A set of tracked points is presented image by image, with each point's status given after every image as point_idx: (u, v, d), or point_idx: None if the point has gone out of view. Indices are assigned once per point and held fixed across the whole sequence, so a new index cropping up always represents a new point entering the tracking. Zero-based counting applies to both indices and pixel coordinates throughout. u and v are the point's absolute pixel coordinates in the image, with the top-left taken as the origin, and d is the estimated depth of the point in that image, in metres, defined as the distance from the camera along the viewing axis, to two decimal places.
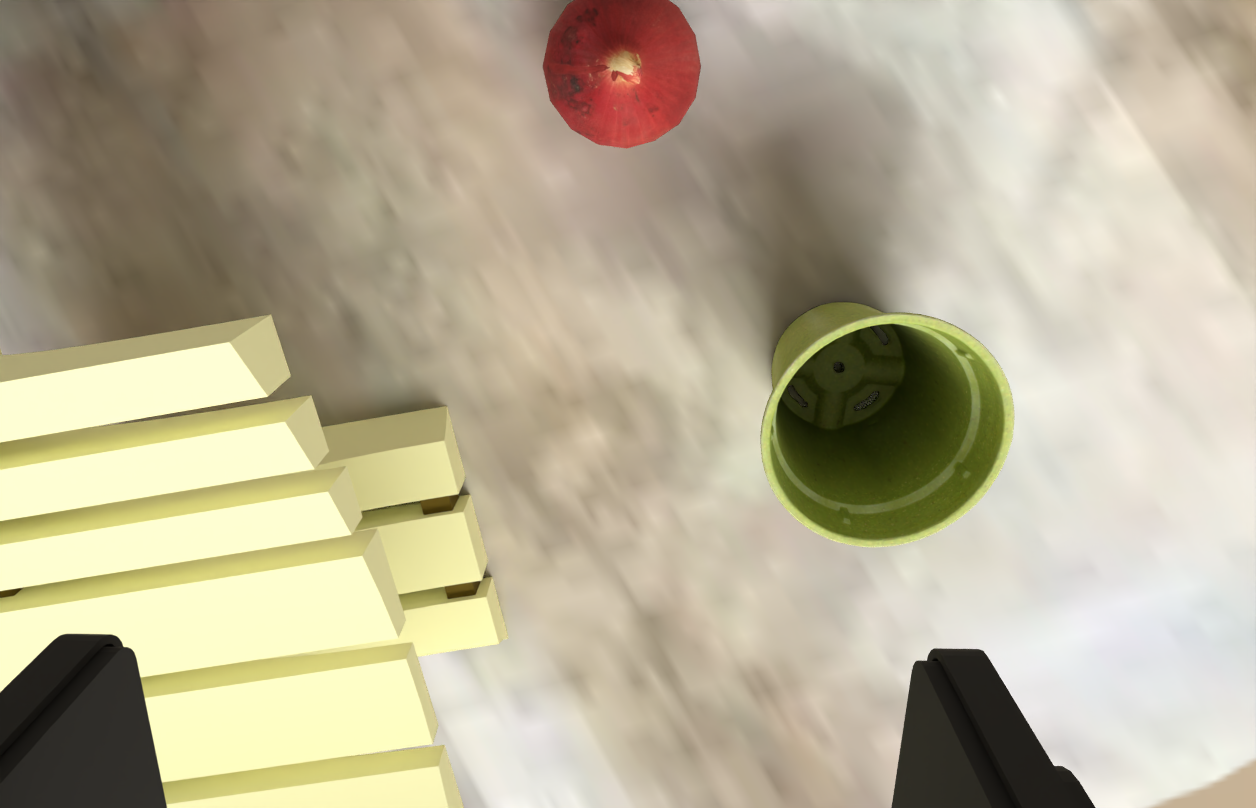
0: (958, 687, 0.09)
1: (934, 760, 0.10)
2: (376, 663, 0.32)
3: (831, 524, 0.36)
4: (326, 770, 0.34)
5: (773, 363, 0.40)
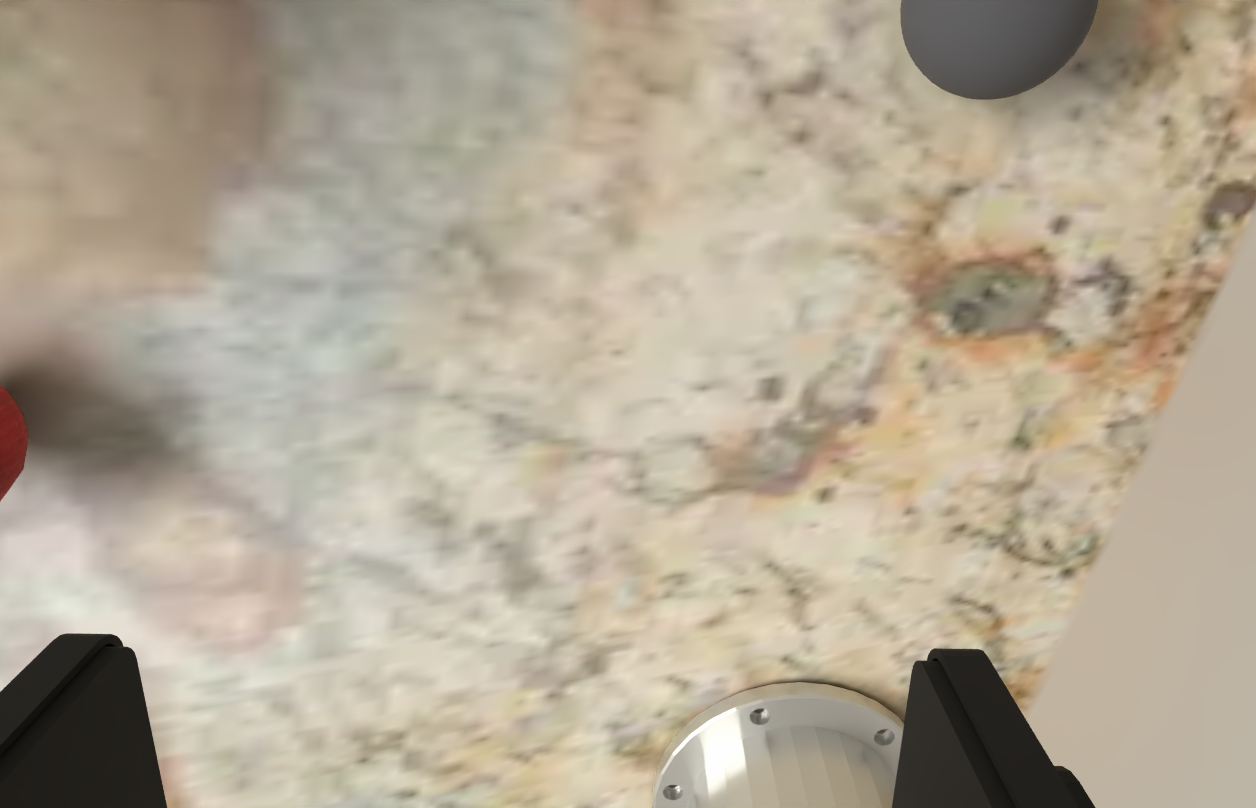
0: (958, 687, 0.09)
1: (934, 760, 0.10)
2: None
3: None
4: None
5: None
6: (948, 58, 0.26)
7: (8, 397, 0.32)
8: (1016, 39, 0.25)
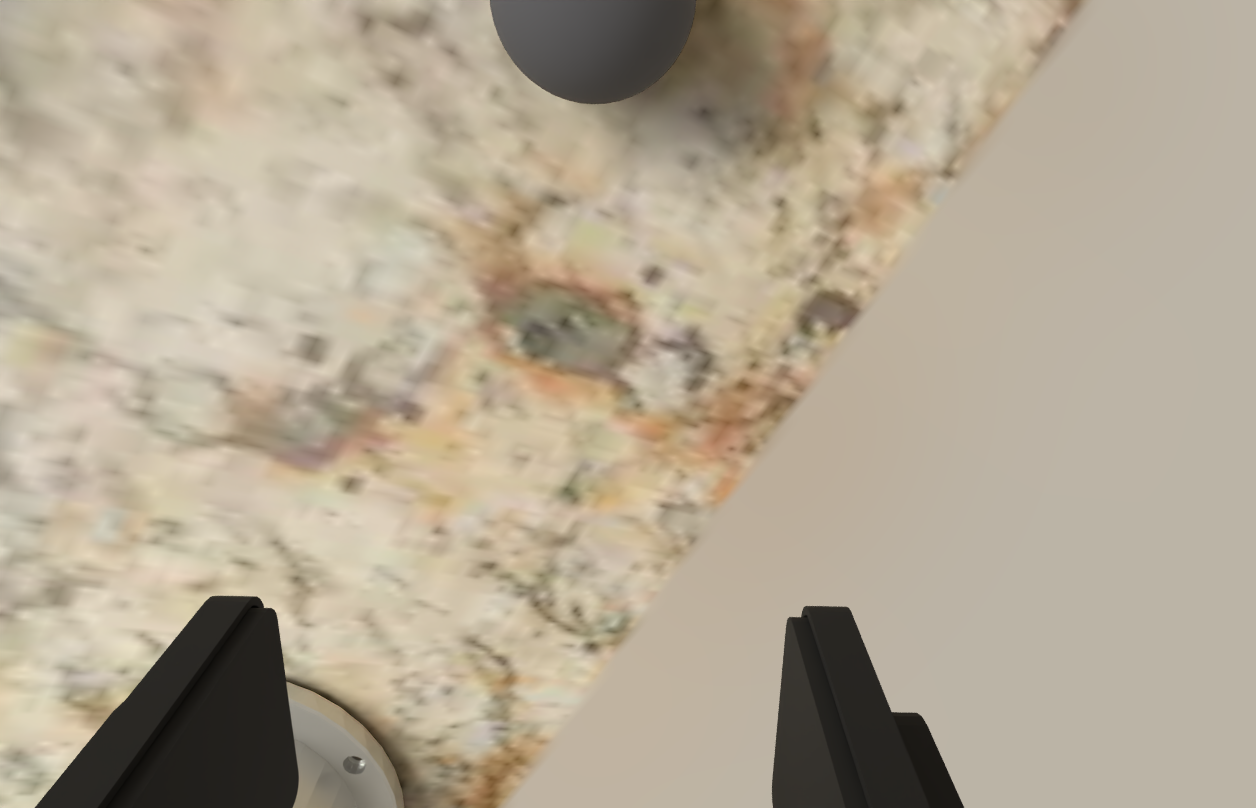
0: (818, 639, 0.10)
1: (797, 706, 0.10)
2: None
3: None
4: None
5: None
6: (507, 29, 0.23)
7: None
8: (565, 28, 0.22)
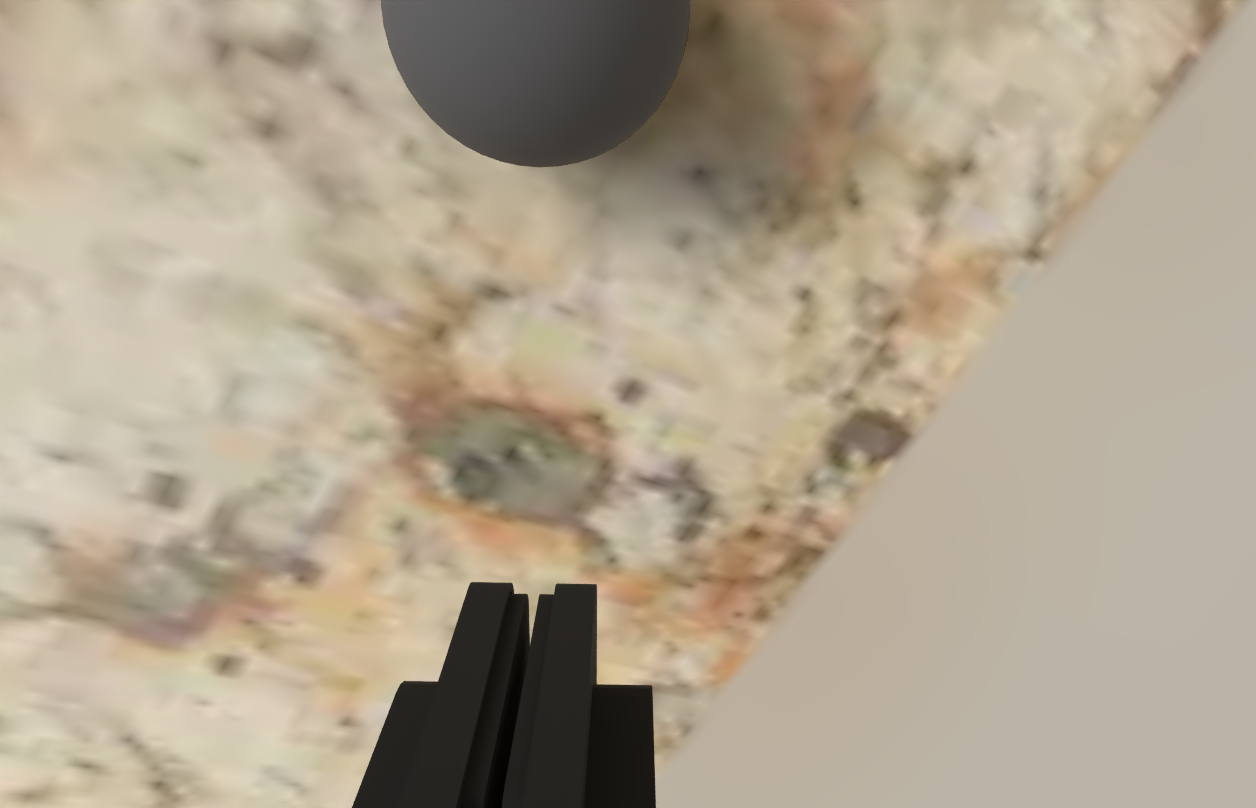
0: (553, 614, 0.11)
1: None
2: None
3: None
4: None
5: None
6: (405, 59, 0.15)
7: None
8: (490, 58, 0.14)
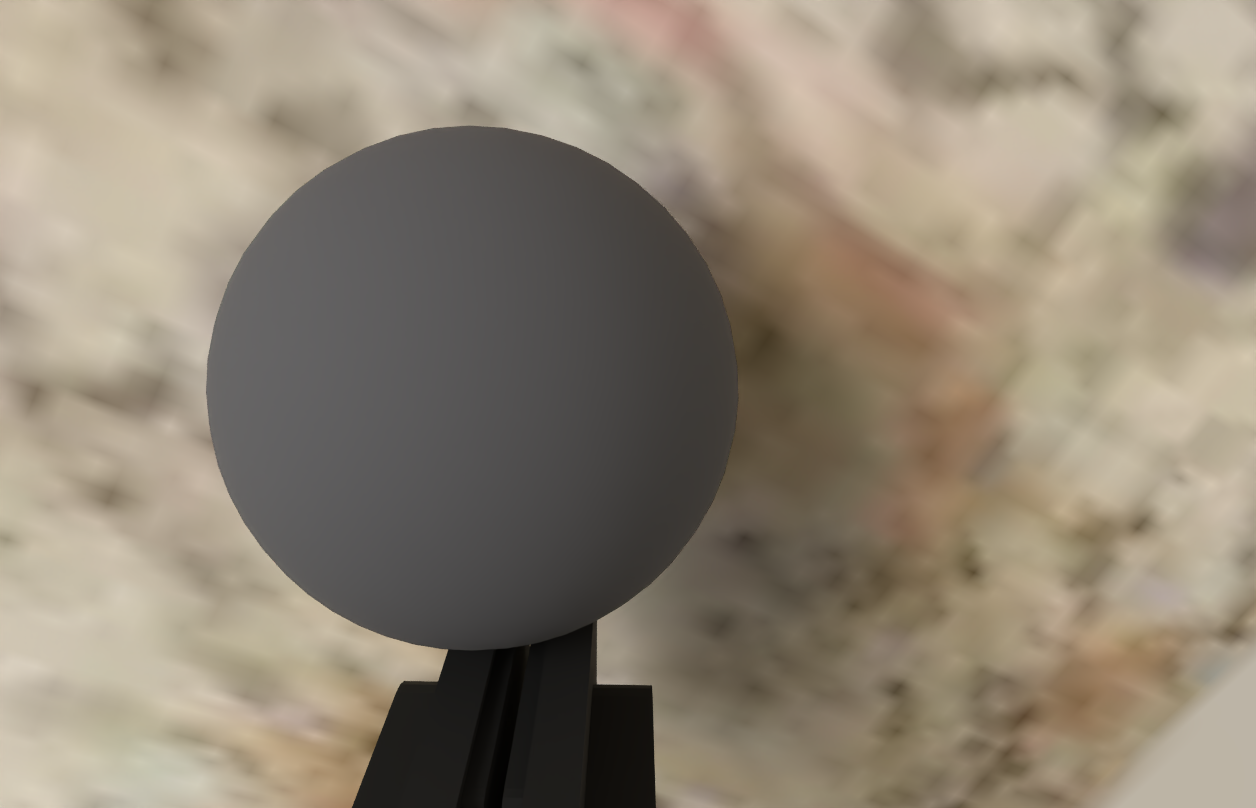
0: None
1: None
2: None
3: None
4: None
5: None
6: (248, 527, 0.09)
7: None
8: (382, 584, 0.08)
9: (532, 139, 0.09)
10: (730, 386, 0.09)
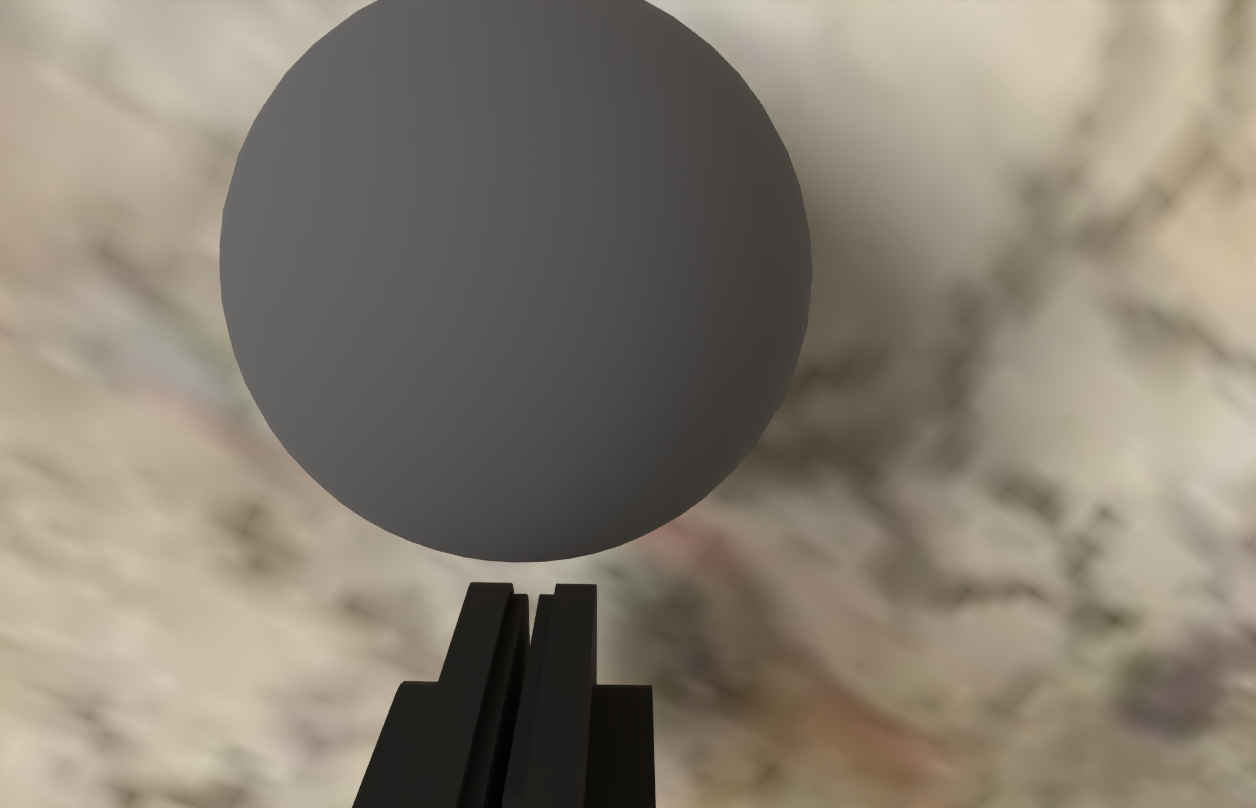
0: (553, 614, 0.11)
1: None
2: None
3: None
4: None
5: None
6: None
7: None
8: None
9: None
10: None
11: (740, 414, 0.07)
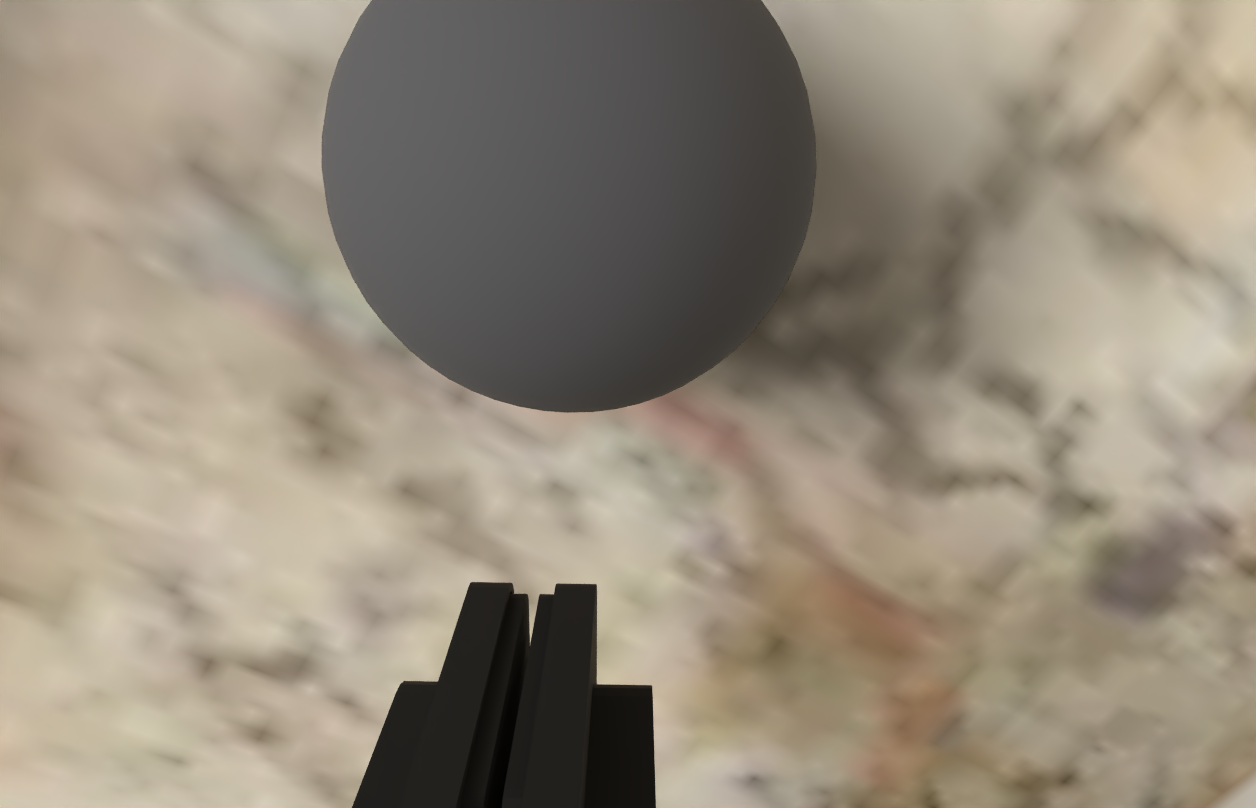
0: (553, 614, 0.11)
1: None
2: None
3: None
4: None
5: None
6: None
7: None
8: None
9: None
10: None
11: (755, 275, 0.09)
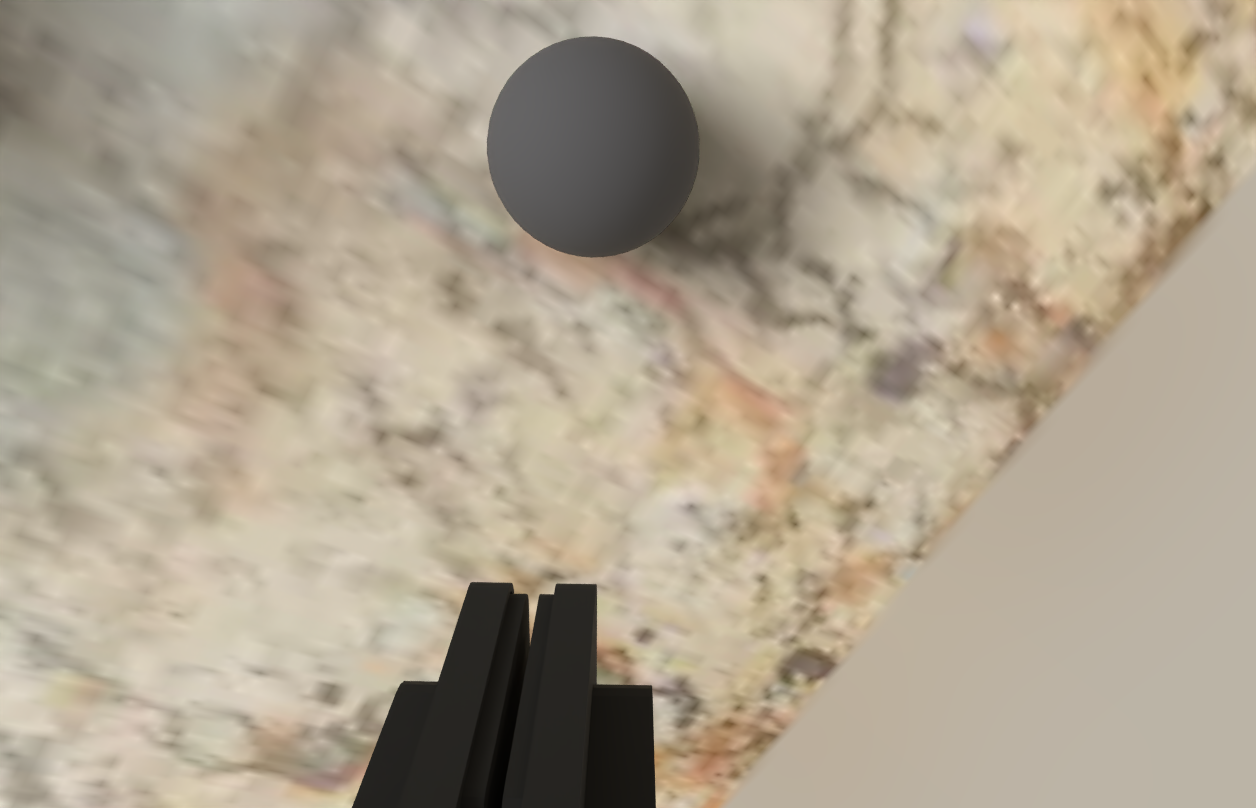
0: (553, 614, 0.11)
1: None
2: None
3: None
4: None
5: None
6: None
7: None
8: None
9: None
10: None
11: (670, 187, 0.22)
